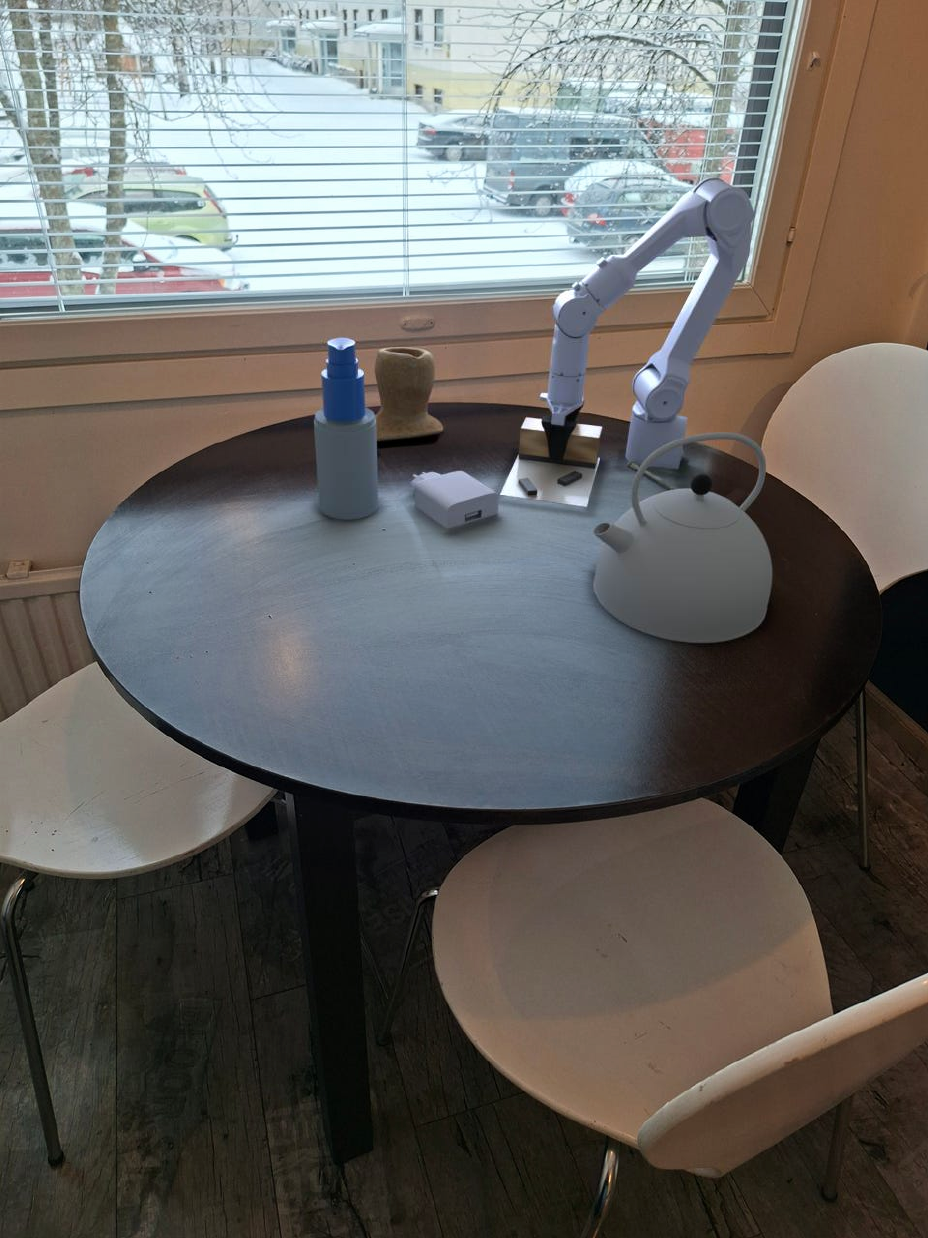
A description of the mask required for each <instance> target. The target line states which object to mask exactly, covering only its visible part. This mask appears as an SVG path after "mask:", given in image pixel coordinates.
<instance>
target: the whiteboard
mask: <svg viewBox="0 0 928 1238" xmlns="http://www.w3.org/2000/svg"><path fill="white" fill-rule="evenodd" d="M518 457H519V454H518V455H517V457H516V459H515V461H514V463H513V466H512V467H511V470H510V472H509V474H508V476H507V478H506V480H505V482H504V485H503V487H502V489H501V491H500V494H499V496H503V497H512V498H517V499H519V498H520V499H525V500H526V499H527V500H533V501H539V502H547V503H554V504H561V505H567V506H568V505H570V506H576V507H583V508H588V506H589V505H588V504H589V501H590V497H591V493H592V490H593V486H594V483H595V478H596V474H597V471H598V467H599V464H600V460H601V458H600V457H598V460H597V464H596V468H595V469H592V468H584V467H577V466H569V465H562V464H554V463H546V462H539V461H531V460H524V459H518ZM573 471H577V472H579V473H582V478H581V479H579V480H577V481H575V482H573V483H571V484H569V485H567V486H563V485H560V484H558V483H557V480H558V478H560V477H563V476H565V475H567V474H569V473H571V472H573ZM523 478H528V479H529V480H530V481H531V483H532V484H533V485H534V486H535V488H536V489H537V495H527V494H526V492H525V491H524V490H523V489H522V487H521V486H520V485H519V483H518V481H519V479H523Z"/></svg>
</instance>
